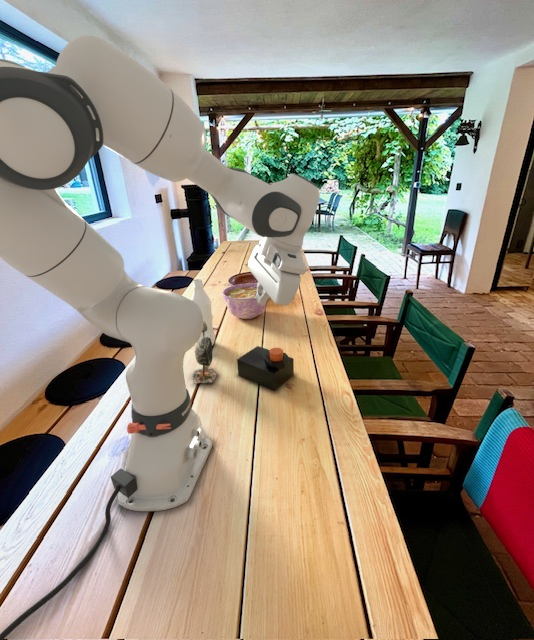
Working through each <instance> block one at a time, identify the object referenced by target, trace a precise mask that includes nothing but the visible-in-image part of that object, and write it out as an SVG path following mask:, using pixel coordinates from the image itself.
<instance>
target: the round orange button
mask: <svg viewBox="0 0 534 640" xmlns="http://www.w3.org/2000/svg"><path fill="white" fill-rule="evenodd" d="M269 350H270V351H269V354H270V360H271V361H276V362H278V361H282V360H283V353H284V349H283V348H281V347H272V348H269Z"/></svg>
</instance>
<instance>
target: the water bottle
mask: <svg viewBox="0 0 534 640" xmlns="http://www.w3.org/2000/svg"><path fill="white" fill-rule="evenodd" d="M192 287H193V293H192V296H191V298H190V300H191V301H193V302H195V303H196V304H197V305H198V306H199V308H200V309H201V312H202V316H203V321H204V322H205V323H206V325H207V331H205V333H204V336H203V332H202V333H201V336H200V338H199V340H198V341H197V343H196V344H197V345H198V343H199V342H200V340H201V339H202V338H204V337H209V338H210V339H211V343H212V347H213V346H214V344H215V343H216V333H215V330H214V326H213V321H214V315H213V311H212V310H213V309H212V300H211V298H210V296H209V294H208V293H207V292H206V291H205V288H204V287H205V286H204V281H203V279H202V278H195V279H193V286H192Z"/></svg>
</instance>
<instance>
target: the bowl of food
mask: <svg viewBox="0 0 534 640" xmlns="http://www.w3.org/2000/svg"><path fill="white" fill-rule="evenodd" d="M256 294H257V283H238V284H234V285H230V286H227V287H226V288H225V289H223V290H222V296H223V298H224V301H225V304H226V308H227V310H228V312H229V313H230V314H231V315H233V316H234V317H236V318H239V319H242V320H251V319H254V318H256V317H258V316H260V315H262V314H263V312H264V311H265V309H266V306H267V302H268V300H267V301H266V304H265V305H260V304H259V303H258V301H257V300H256V299H255V296H256Z"/></svg>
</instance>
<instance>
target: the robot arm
mask: <svg viewBox="0 0 534 640" xmlns="http://www.w3.org/2000/svg"><path fill="white" fill-rule="evenodd" d="M103 147H104V148H106V149H108V150H110V151H112V152H114V153H116V154H117V155H118V156H120V157H121V158H124V159H125V160H126V161H128V162H130V163H131V164H133V165H135V166H136V167H138V168H140V169H142V170H143V171H146V172H147V173H150V174H151V175H154V176H156V177H159V178H161V179H164V180H167V181H169V182H172V183H179V182H182V181H184V180H186V179H187V180H188V181H190V182H191V183H193V184H194V185H196V186H197V187H199V188H200V189H202V190H204V191H205V192H206V193H208V194H209V195H210V197H211V198H212V200H213V201H214V203H215V205H216V207H217V208H218V209H219V210H220V212H221V213H223V214H224V215H225V216H227V217H229V218H231V219H233V220H234V221H236V222H237V223H239V224H241V225H242V226H243V227H245V228H246V229H248V230H249V231H251V232H252V233H254V234H255V235H257V236H259V237H262V238H261V239H260V240H259V242H258V243H257V244H256V245H255V246H254V247H253V249H252V252H251V255H250V257H249V258H248V262H247V269H248V270H249V271H250V273H251V274H252V276H253V277H254V278H255V279H256V280H257V283H256V284H257V294H256V296H255V299H256V300H257V301H258V303H259V304H260V305H265V304H266V305H267V302H268V299H271V300H272V302H273V303H274V304H275V305H277V306H283V307H284V306H285V307H287V306H289V305H290V304H292V302H293V301H294V298H295V296H296V294H297V292H298V289H299V287H300V284H301V279H302V276H303V275H305V274H306V272H307V268H308V267H307V264H306V261H305V259H304V257H303V253H302V251H301V250H302V247H303V244H304V237H305V236H306V233H307V232H308V231H309V229H310V228H311V225H312V223H313V221H314V218H315V216H316V213H317V209H318V206H319V202H320V197H321V190H320V188H319V186H318V185H317V184H315V182H313V181H311V180H310V179H307V178H306V177H304V176H303V175H301V174H299V173H298V174H297V173H290V174H289V175H288V176H287V177H286V178H284V179H281V180H279V181H275V182H269V183H268V182H266V181H264V180H262V179H260V178H259V177H256V176H254V175H252V173H250V172H248V171H247V170H245V169H242V168H237V167H231V166H227V165H225V164H224V162H222V161H220V160H219V159H218V158H217V157H216V156H215V155H213V154H212V153H211V152H210V151H209V150H208V149H207V132H206V127H205V125H204V123H203V122H202V121H201V119H200V118H199V116H198V115H197V114H196V113H195V112H194V111H193V109H192V108H191V107H190V106H189V104H188V103H186V102H185V100H184V99H183V98H182V97H180V96H179V95H178V94H177V93H176V92H175V91H174V90H173V89H172V88H171V87H170V86H169V85H167V84H166V83H165V82H164V81H163V80H161V79H160V77H158V76H157V75H155V74H154V73H153V72H151V70H149V69H148V68H147V67H145V66H144V65H142V64H141V63H140V62H138V61H137V60H136V59H134V58H133V57H131V56H130V55H128V54H127V53H125V52H124V51H122V50H121V49H120V48H118V47H115V46H114V45H112V44H111V43H109V42H107V41H106V40H104V39H102V38H100V37H98V36H95V35H88V34H86V35H85V34H84V35H81V36H78V37H76V38H74V39H72V40H70V42H68V43H67V44H66V45H65V46H64V47H63V48H62V50H61V51H60V53H59V54H58V57H57V59H56V62H55V65H54V66H52V68H51V69H49V70H47V71H45V72H44V71H39V70H34V69H31V68H29V67H25V66H24V65H22V64H19V63H17V62H14V61H10V60H7V59H3V58H0V260H2V261H3V262H5V263H6V264H7V265H9V266H10V267H12V268H13V269H15V271H18V272H19V273H20V274H22V275H24V276H25V277H26V278H28V279H30V280H31V281H32V282H34V283H36V284H37V285H38V286H40V287H42V288H43V289H45V290H46V291H48V292H50V294H53V295H54V296H56V297H57V298H58V299H60V300H61V301H63V302H65V303H66V304H67V305H69V306H71V307H72V308H73V309H74V310H75V311H77V312H78V313H79V314H80V315H81V316H82V317H83V318H84V319H85V320H86V321H87V322H88V323H89V324H90V325H91V326H92V327H94V328H95V329H97V330H98V331H99V332H101V333H103V334H104V335H106V336H108V337H111V338H113V339H116V340H120V341H122V342H126V343H129V344H130V345H131V347H132V348H133V350H134V353H135V354H134V355H135V360H133V362H132V363H131V364H130V365H129V367H128V368H127V370H126V372H125V381H126V385H127V389H128V392H129V396H130V400H131V410H130V411H131V412H130V413H131V414H130V415H131V416H130V417H131V422H129V423H127V426H126V432H127V434H129V435H130V437H129V438H130V439H129V443H128V444H129V446H128V452H127V457H126V461H125V465H124V469H123V468H121V467H120V468H119V469H118V470H117V471H115V473H113V474H112V475H111V476H110V480H111V483H112V485H113V486H112V487H113V489H114V491H113V492H112V494H111V495H110V497H109V499H108V502H107V503H106V507H105V510H104V511H105V513H104V515H105V516H104V517H105V524H104V526H103V529H102V531H101V533H100V535H99V537H98V539H97V540H96V542H95V544H94V545H93V547H92V548H91V549H90V551H89V552H88V553H87V554H86V555H85V556H84V557H83V558H82V559H81V561H80V562H79V563H78V564H77V565H76V566H75V567H74V568H73V570H72V571H71V572H70V573H69V574H68V575H67V576H66V577H65V578H64V579H63V580H62V581H61V582H60V583H59V584H58V585H57V586H56V587H54V588H53V589H52V590H51V591H49V592H48V593H47V594H46V595H44V596H43V597H42V598H40V599H39V600H38V601H37V602H35V603H34V604H33V605H32V606H30V607H29V608H27V609H26V611H24V612H23V613H22V614H21V615H19V616H18V617H16V618H15V620H14V621H13V622H11V623H10V624H9V625H8V626H7V627H6V628H4V630H3V631H2V632H0V640H4V639H5V638H6V637H8V636H9V635H10V634H11V633H12V632H13V631H14V630H15V629H16V628H17V627H18V626H19V625H20V624H22V623H23V622H24V621H25V620H26V619H28V618H29V617H30V616H31V615H32V614H34V613H35V612H37V610H39V609H40V608H41V607H43V606H44V605H45V604H46V603H47V602H49V601H50V600H51V599H52V598H54V597H55V596H56V595H57V594H58V593H59V592H61V591H63V589H64V588H65V587H66V586H67V585H68V584H69V583H70V582H71V581H72V579H74V578H75V576H76V575H77V574H78V573H79V572H80V571H81V570H82V569H83V567H84V566H86V564H87V563H88V562H89V561H90V559H91V558H92V557H93V556H94V555H95V553H96V552H97V550H98V548H99V547H100V545H101V543H102V542H103V540H104V538H105V537H106V535H107V533H108V531H109V528H110V526H111V522H112V515H111V509H112V506H113V503H114V501H115V499H116V498H117V503H118V505H119V506H120V507H122V508H124V509H126V510H129V511H133V512H134V511H135V512H159V511H166V510H171V509H174V508H177V507H179V506H181V505H183V504H185V503H187V502H188V501H189V500H190V498H191V495H192V494H193V491H194V489H195V487H196V484H197V482H198V480H199V477H200V475H201V473H202V470H203V468H204V466H205V464H206V461H207V459H208V457H209V455H210V453H211V450H212V448H213V443H212V441H211V439H209V438H208V437H206V436H205V434H204V429H203V425H202V422H201V418H200V415H198V414H197V413H196V412H195V410H193V408H192V399H191V394H190V392H189V390H188V388H187V385H186V377H185V371H184V358H185V355H186V354H187V352H188V351H190V350H191V349H192V348H193V347H195V345H196V344H197V341H198V340H199V338H200V336H201V333H202V330H203V316H202V312H201V309H200V308H199V306H198V305H197V304H196V303H195V302H193V301H191V299H189V298H188V297H186V296H184V295H181V294H180V293H178V292H174V291H170V290H167V289H166V290H165V289H160V288H155V287H150V286H146V285H144V284H141V283H139V282H138V281H135V280H134V279H133V278H131V277H130V276H129V275H128V273H127V272H126V270H125V261H124V258H123V255H122V254H121V253H120V252H119V251H118V250H117V249H116V248H115V247H114V246H113V245H112V244H110V242H109V241H108V240H107V239H105V238H104V237H103V236H102V235H101V233H99V232H98V230H96V229H95V228H94V227H93V226H92V225H91V224H90V223H88V222H87V220H86V219H84V218H83V216H81V215H80V214H79V213H78V212H77V211H76V210H75V209H74V208H72V207H71V205H69V203H68V202H66V200H64V198H63V197H62V195H60V193H59V192H58V190H57V189H59V188H61V187H63V186H66V185H67V184H69V183H71V182H72V181H73V180H75V178H77V177H78V176H79V175H80V173H81V172H82V171H83V170H84V168H85V167H86V165H87V163H88V162H89V161H90V160H91V159H92V158H93V157H94V156H95V155H96V154H97V153H98V152H99V151H100V150H101V149H102V148H103ZM301 275H302V276H301ZM266 301H267V302H266Z"/></svg>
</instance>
